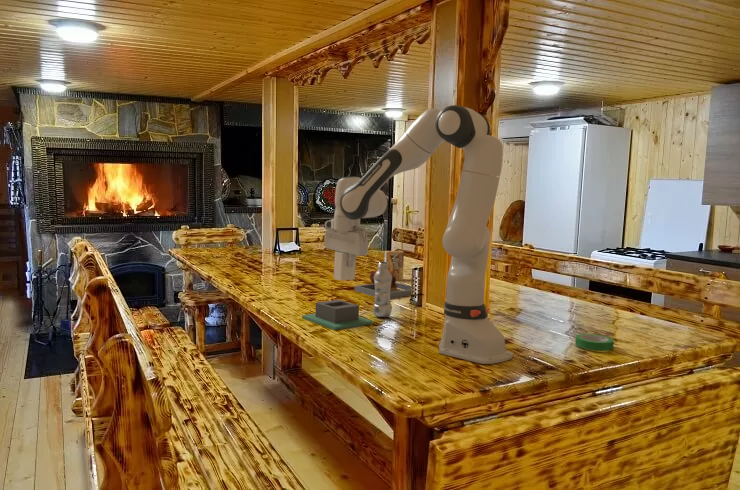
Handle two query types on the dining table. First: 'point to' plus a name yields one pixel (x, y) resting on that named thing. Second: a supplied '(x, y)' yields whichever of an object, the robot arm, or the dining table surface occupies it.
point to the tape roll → (594, 342)
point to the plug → (343, 267)
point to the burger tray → (406, 292)
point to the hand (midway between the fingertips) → (344, 265)
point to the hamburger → (393, 285)
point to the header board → (339, 325)
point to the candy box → (395, 263)
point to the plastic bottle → (382, 290)
